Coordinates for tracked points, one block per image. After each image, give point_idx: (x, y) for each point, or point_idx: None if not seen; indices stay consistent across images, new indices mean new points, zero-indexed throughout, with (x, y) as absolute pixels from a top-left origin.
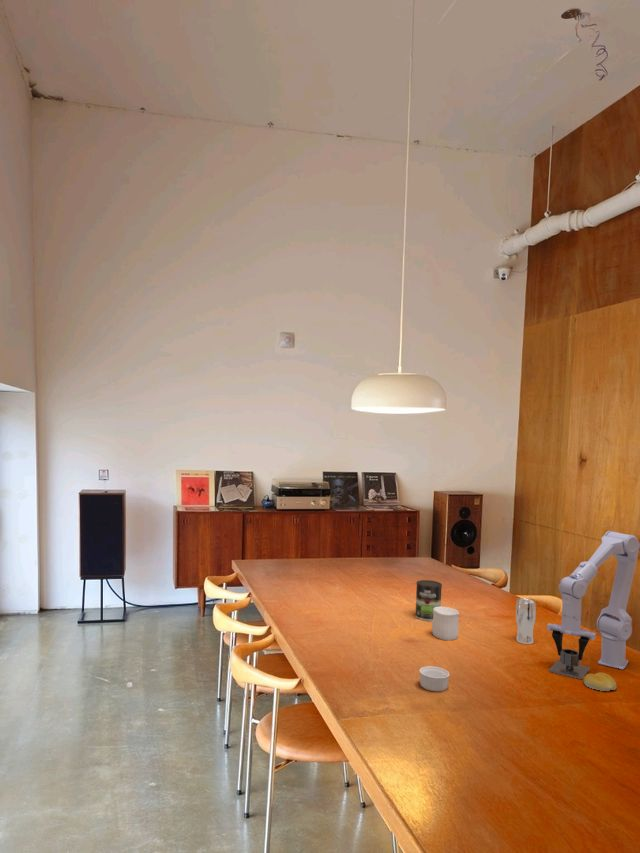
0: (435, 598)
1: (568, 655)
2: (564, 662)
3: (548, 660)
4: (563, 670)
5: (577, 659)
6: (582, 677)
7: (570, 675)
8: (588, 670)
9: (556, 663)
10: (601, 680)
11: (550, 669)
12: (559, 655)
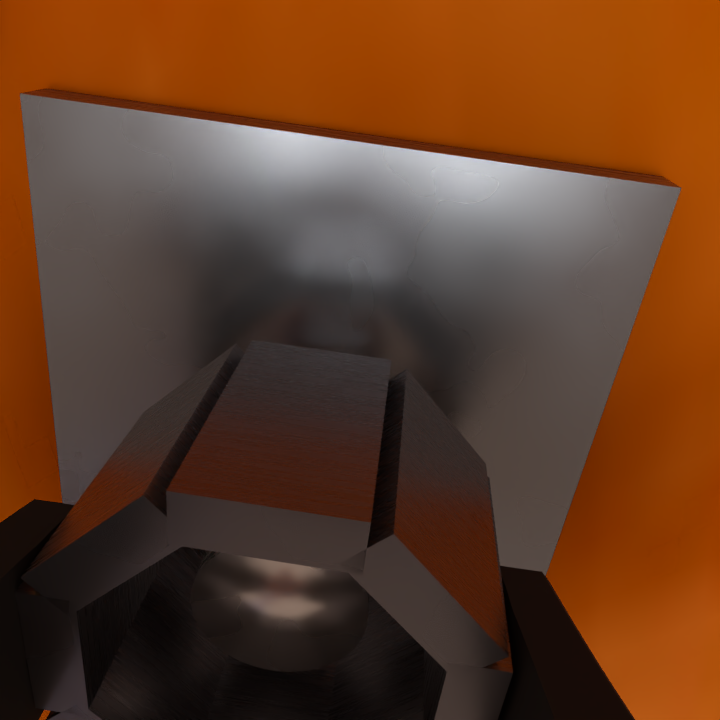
0: None
1: (267, 487)
2: (385, 380)
3: (636, 638)
4: (400, 281)
5: (84, 494)
6: (26, 122)
7: (252, 126)
8: None
9: (532, 530)
10: None
11: (652, 188)
12: (515, 568)
